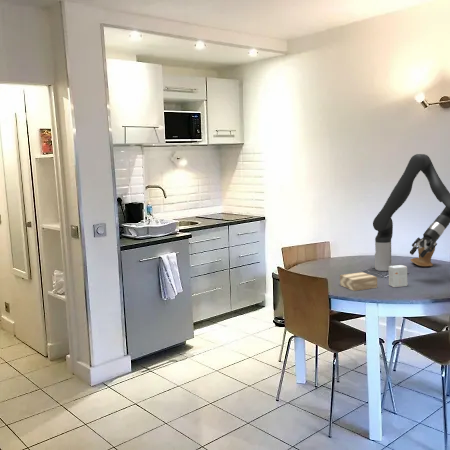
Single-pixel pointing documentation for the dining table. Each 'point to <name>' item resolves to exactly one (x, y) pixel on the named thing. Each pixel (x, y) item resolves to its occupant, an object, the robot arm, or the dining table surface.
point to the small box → (398, 276)
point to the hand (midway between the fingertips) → (415, 255)
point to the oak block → (358, 281)
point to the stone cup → (425, 260)
